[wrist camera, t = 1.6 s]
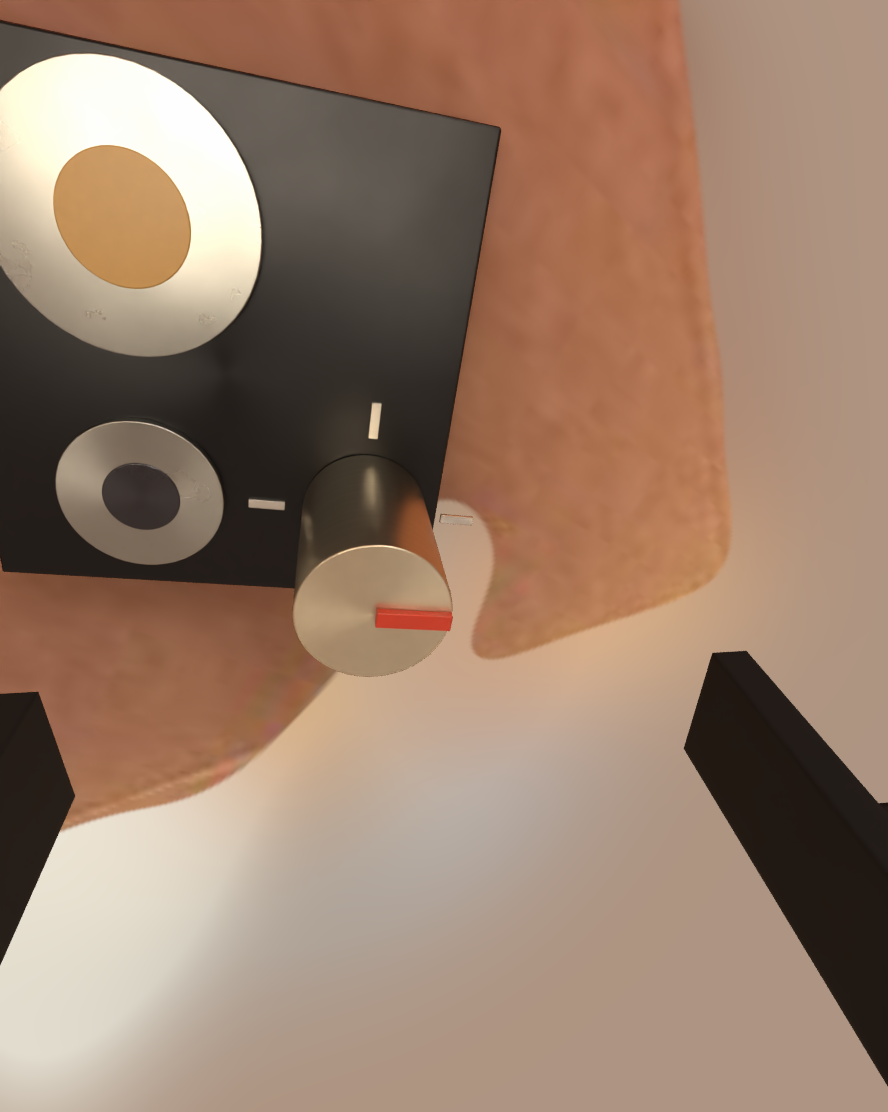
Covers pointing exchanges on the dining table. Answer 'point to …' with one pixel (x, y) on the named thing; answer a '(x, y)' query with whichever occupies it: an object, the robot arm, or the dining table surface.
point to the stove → (270, 325)
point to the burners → (127, 272)
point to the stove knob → (368, 570)
